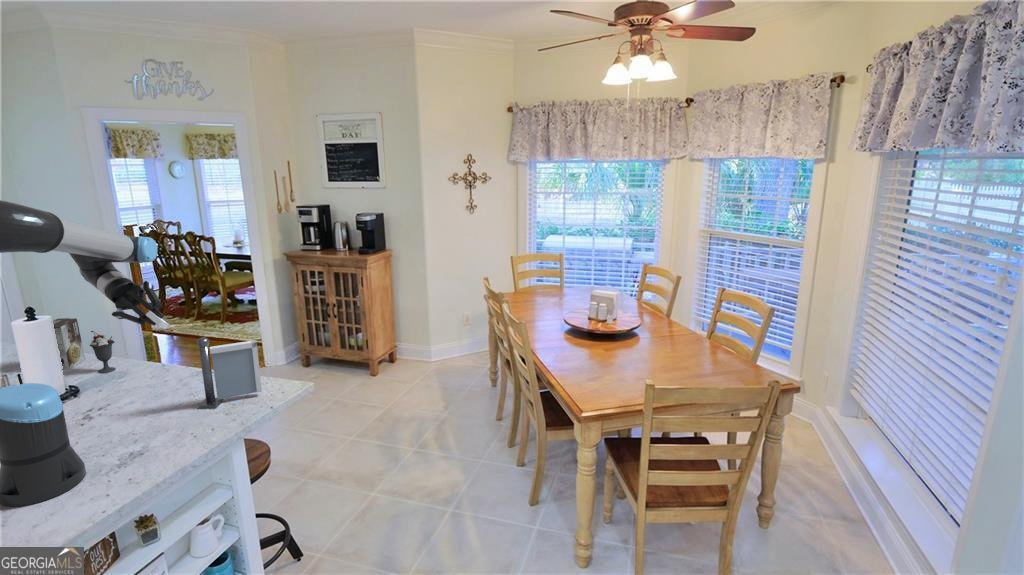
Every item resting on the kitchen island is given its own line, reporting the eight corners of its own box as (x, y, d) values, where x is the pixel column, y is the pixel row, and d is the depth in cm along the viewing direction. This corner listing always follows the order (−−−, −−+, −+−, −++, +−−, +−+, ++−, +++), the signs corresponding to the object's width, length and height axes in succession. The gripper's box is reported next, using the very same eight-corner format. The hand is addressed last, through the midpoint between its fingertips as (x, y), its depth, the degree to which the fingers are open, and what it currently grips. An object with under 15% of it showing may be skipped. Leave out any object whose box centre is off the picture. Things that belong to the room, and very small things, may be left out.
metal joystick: (216, 408, 154) (207, 340, 148) (198, 408, 153) (189, 340, 148) (223, 400, 159) (215, 334, 153) (206, 401, 158) (197, 334, 153)
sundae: (89, 372, 176) (81, 331, 172) (109, 365, 182) (102, 325, 178) (103, 375, 174) (95, 333, 170) (123, 368, 180) (116, 327, 177)
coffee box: (66, 360, 186) (57, 318, 182) (86, 359, 187) (77, 317, 183) (48, 370, 177) (39, 326, 173) (69, 369, 178) (60, 325, 174)
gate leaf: (216, 400, 155) (209, 349, 151) (216, 397, 157) (209, 346, 153) (261, 391, 162) (256, 342, 158) (261, 389, 163) (255, 340, 159)
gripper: (146, 278, 156) (191, 312, 147) (112, 311, 152) (156, 349, 143) (126, 265, 149) (172, 300, 140) (90, 300, 145) (134, 339, 136)
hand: (164, 325), depth 142 cm, fingers closed
